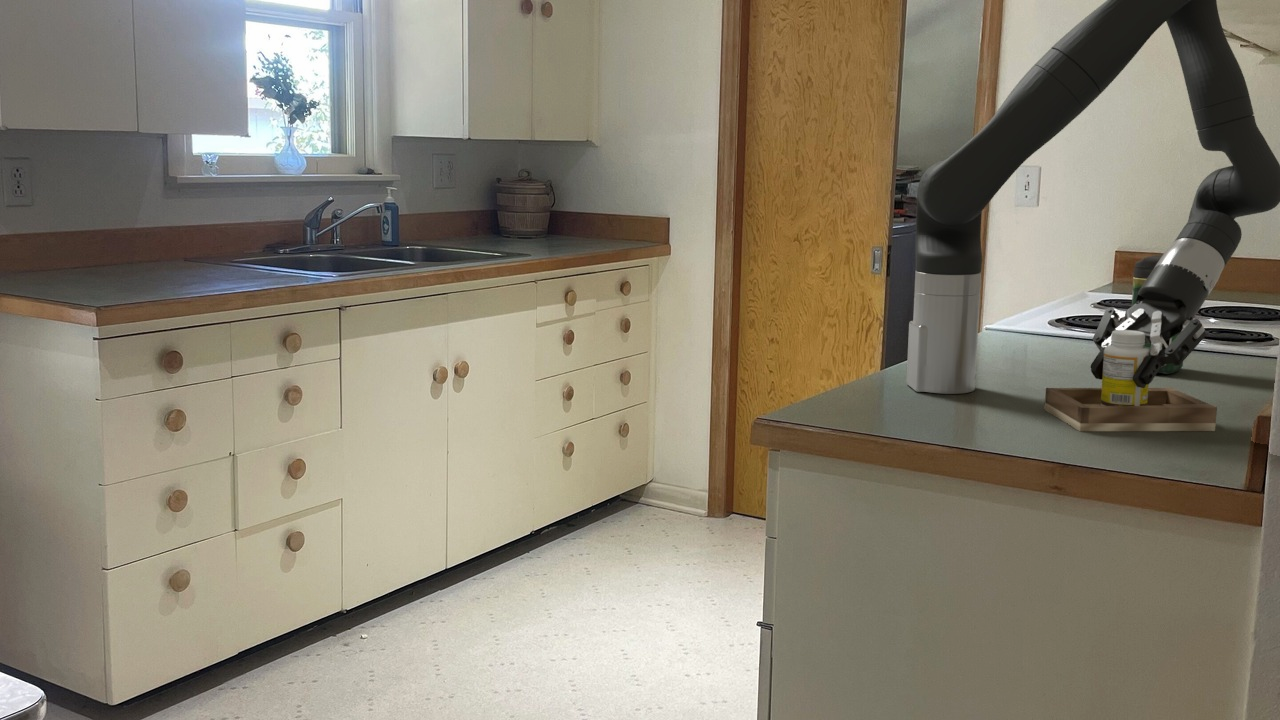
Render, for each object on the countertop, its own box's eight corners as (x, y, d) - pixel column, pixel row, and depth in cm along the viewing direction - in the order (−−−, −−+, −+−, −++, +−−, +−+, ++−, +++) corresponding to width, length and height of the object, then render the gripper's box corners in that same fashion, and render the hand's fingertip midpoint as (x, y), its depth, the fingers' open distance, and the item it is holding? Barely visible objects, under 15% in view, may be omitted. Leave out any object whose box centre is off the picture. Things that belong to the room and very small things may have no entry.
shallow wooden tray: (1079, 431, 141) (1081, 407, 141) (1044, 409, 153) (1046, 388, 152) (1214, 430, 141) (1217, 407, 141) (1169, 409, 153) (1171, 387, 153)
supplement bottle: (1132, 404, 150) (1137, 328, 148) (1155, 414, 145) (1161, 335, 143) (1092, 405, 149) (1097, 329, 148) (1113, 415, 144) (1119, 336, 142)
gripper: (1122, 257, 153) (1057, 353, 149) (1222, 266, 141) (1155, 370, 137) (1143, 294, 157) (1081, 387, 153) (1243, 305, 145) (1178, 407, 141)
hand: (1116, 379), depth 145 cm, fingers closed on supplement bottle, 5 cm apart
